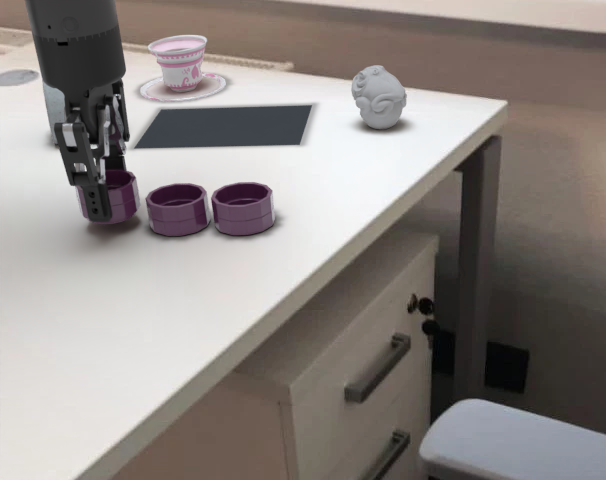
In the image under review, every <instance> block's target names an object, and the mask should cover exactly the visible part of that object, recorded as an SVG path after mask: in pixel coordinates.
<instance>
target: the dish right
mask: <svg viewBox="0 0 606 480" xmlns="http://www.w3.org/2000/svg"><path fill="white" fill-rule="evenodd" d="M210 201H211V202H210V203H211V206H212V207H211V209H212V216H213V221H214V222H213V224H214V226H215V228H216V229H217V230H218V231H219V232H220V233H224V234H227V235H231V236H249V235H250V236H251V235H254V234H257V233H263V232H264V231H266V230H267V229H269V228H270V227H272V226H273V225H274V223H275V219H276V214H275V203H274V191H273V189H271V187H269V186H268V185H267V184H264V183H260V182H255V181H241V182H240V181H239V182H234V183H229V184H225V185H223V186H221V187H219V188H218V189H216V190H214V191H213V192H212V195H211V197H210Z"/></svg>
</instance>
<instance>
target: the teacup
mask: <svg viewBox="0 0 606 480" xmlns="http://www.w3.org/2000/svg"><path fill="white" fill-rule="evenodd" d="M207 43H208V38H207V37H206V36H204V35H200V34H198V35H197V34H180V35H179V34H178V35H173V36H167V37H163V38H160V39H157V40H154V41H152V42H151V43H149V44H148V45H147V50H148V51H149V53H150V54H151V55H152V56H153V57H155V58H156V63H157V64H158V65H159V66H160V68H161V75H162V76H161V77H158V78H155V79H152V80H150V81H148V82H146V83H144V84H143V85H142V86H141V87H140V90H139V91H140V93H139V94H140V95H141V96H142V97H143V98H145V99H147V100H150V101H153V102H164V103H165V102H167V103H168V102H171V103H172V102H173V103H175V102H186V101H193V100H198V99H199V100H200V99H204V98H207V97H210V96H213V95H216V94H217V93H219V92H221V91H222V90H224V89H225V88H226V86H227V82H226V79H225V78H224V77H222V76H220V75H218V74H214V73H208V72H202V64H203V61H204V57H205V51H206V47H207ZM203 78H209V79H213V80H216V81H217V82H218V83H219V86H218V87H217V89H215V90H212V91H211V92H208V93H205V94H202V95H196V96H192V97H182V98H159V97H157V98H156V97H153V96H150V94H148V93H147V90H148V89H149V88H150V87H151V86H153V85H155V84H157V83H160V82H163V84H164V85H165V86H168V87H169V88H170V89H171V91H172V92H176V93H185V92H191V91H194V90H195V89H197V87H198V84H199V83H200V82H201V81H202V80H203Z"/></svg>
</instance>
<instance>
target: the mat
mask: <svg viewBox="0 0 606 480" xmlns="http://www.w3.org/2000/svg"><path fill="white" fill-rule="evenodd" d="M312 108H313V104H304V105H299V104H298V105H269V106H267V105H266V106H235V107H233V106H231V107H230V106H229V107H200V108H199V107H198V108H197V107H196V108H194V107H193V108H165V109H164V108H163V109H160V110H159V112H158V113H157V114H156V116H155V117H154V119H153V120H152V122H151V123H150V124H149V126H148V128H147V129H145V132H144V133H143V135H142V136H141V137H140V139H139V140H138V142H137V143H136V144H135V146H134V147H133V150H134V149H135V150H137V149H176V148H178V149H179V148H181V149H182V148H183V149H184V148H219V147H220V148H221V147H222V148H223V147H224V148H225V147H226V148H227V147H229V148H230V147H263V146H264V147H265V146H266V147H267V146H268V147H269V146H270V147H271V146H300V145H301V142H302V139H303V136H304V133H305V129H306V126H307V123H308V120H309V117H310V114H311V110H312Z"/></svg>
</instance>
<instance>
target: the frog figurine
mask: <svg viewBox="0 0 606 480" xmlns="http://www.w3.org/2000/svg"><path fill="white" fill-rule="evenodd" d="M350 87H351V88H350V89H351V90H350V91H351V96H352V98H353V101H355V106H356V107H357V109H359V116H360V117H361V118H362V120H363V122H364V123H365V124H366V125H367V126H368V127H370V128H371V129H375V130H387V129H390V128H392V127H393V126H395V125H397V123H398V121H399V120H400V118H401V116H402V114H403V109H404V108H406V106H407V98H408V94H407V93H406V88H405V87H404V86H403V85H402V83H401V82H400V81H399V79H398V78H397V77H396V76H395V75H393V74H391V72H389V71H387V70H386V68H385V67H384V66H383V65H379V64H376V65H375V64H374V65H371V66H366V67H364V69H363V70H360V71H359V72H357V74H356V75H355V76H353V78H352V81H351V86H350Z"/></svg>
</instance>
